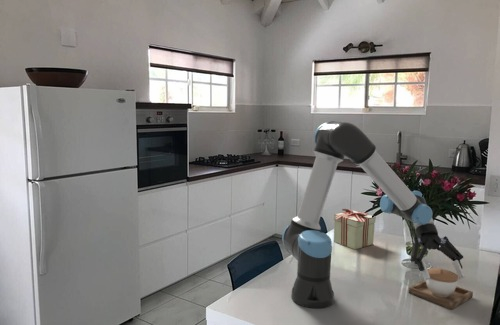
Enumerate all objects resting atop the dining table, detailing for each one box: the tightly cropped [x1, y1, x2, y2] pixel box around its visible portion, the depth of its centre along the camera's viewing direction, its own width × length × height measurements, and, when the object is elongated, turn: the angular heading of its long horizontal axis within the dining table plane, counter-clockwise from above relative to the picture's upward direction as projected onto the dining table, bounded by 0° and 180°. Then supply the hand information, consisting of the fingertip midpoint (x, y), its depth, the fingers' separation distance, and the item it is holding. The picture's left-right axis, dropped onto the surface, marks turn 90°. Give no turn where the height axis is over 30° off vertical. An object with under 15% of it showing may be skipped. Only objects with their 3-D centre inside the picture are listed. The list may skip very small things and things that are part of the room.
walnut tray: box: [408, 279, 474, 311], centre depth 148 cm, size 16×16×2 cm
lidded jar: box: [426, 267, 459, 297], centre depth 148 cm, size 11×11×9 cm
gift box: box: [333, 208, 377, 250], centre depth 204 cm, size 17×18×17 cm
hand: (444, 278), depth 146 cm, fingers open, 13 cm apart
